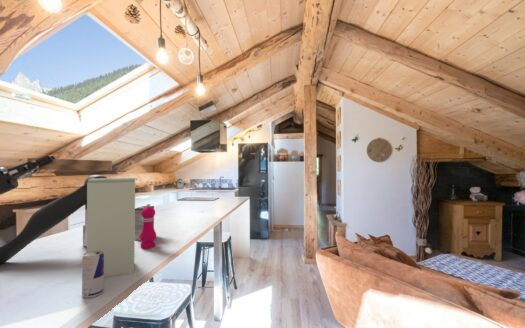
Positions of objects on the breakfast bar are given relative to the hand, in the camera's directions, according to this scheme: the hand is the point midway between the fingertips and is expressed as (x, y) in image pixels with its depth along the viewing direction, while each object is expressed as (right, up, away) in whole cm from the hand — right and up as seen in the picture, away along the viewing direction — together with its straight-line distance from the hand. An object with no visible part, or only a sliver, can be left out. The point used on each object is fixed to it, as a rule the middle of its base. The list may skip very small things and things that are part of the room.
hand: (52, 158), depth 86 cm
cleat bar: (+5, -4, +2) cm, 7 cm away
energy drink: (+20, -41, -9) cm, 46 cm away
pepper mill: (+16, -41, +35) cm, 56 cm away
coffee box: (+8, -41, +50) cm, 65 cm away
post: (+15, -40, +8) cm, 44 cm away
